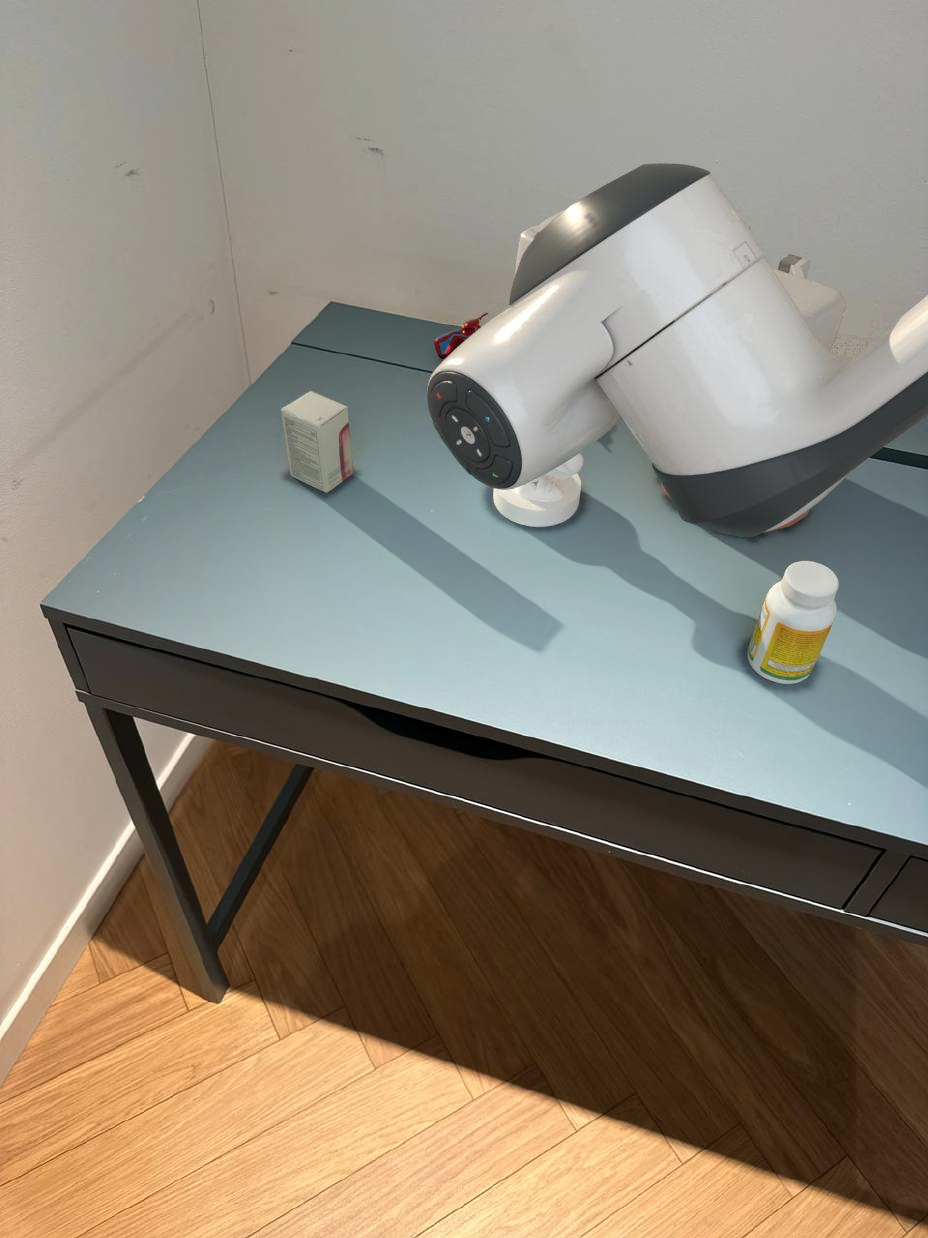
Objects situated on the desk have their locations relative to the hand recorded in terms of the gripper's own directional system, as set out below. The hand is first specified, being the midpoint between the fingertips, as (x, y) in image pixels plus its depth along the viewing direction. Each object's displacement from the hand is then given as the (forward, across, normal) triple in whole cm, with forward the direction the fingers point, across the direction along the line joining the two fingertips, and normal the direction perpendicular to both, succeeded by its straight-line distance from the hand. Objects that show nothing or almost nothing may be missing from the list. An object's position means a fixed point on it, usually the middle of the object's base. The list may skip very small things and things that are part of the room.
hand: (734, 247), depth 66 cm
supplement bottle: (-4, -14, +30) cm, 33 cm away
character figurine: (+1, +15, +30) cm, 34 cm away
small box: (-10, +33, +30) cm, 46 cm away
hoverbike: (+17, +34, +30) cm, 48 cm away
